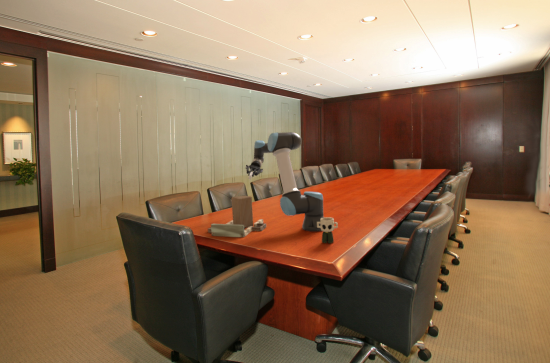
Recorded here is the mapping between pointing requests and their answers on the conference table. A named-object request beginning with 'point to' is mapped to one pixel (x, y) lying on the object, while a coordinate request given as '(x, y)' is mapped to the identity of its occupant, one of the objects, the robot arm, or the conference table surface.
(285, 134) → the robot arm
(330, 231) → the character mug
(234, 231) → the tray
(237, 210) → the wooden block
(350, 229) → the conference table surface
